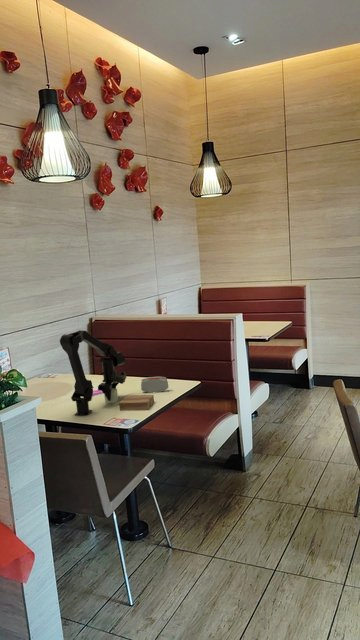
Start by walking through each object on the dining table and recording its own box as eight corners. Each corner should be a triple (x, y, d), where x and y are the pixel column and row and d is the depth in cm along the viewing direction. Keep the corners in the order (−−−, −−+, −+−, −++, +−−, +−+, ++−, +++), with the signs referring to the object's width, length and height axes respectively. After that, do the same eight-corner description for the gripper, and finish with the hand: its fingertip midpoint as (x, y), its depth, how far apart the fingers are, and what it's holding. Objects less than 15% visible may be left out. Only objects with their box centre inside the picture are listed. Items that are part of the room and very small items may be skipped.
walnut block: (148, 410, 243) (147, 402, 243) (119, 411, 246) (119, 403, 246) (154, 402, 255) (153, 395, 255) (127, 403, 258) (126, 395, 257)
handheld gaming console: (168, 390, 273) (167, 375, 272) (168, 391, 270) (167, 377, 269) (141, 392, 274) (140, 377, 273) (141, 393, 271) (139, 379, 270)
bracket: (86, 397, 273) (85, 385, 272) (82, 395, 278) (81, 383, 276) (109, 392, 279) (107, 379, 278) (105, 390, 284) (103, 378, 283)
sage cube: (114, 402, 259) (113, 391, 258) (105, 403, 260) (104, 391, 259) (118, 399, 264) (116, 388, 263) (108, 400, 265) (107, 388, 264)
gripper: (117, 373, 249) (120, 404, 251) (129, 364, 267) (132, 393, 269) (95, 374, 251) (99, 404, 253) (108, 364, 269) (111, 393, 271)
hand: (111, 398), depth 262 cm, fingers open, 6 cm apart
